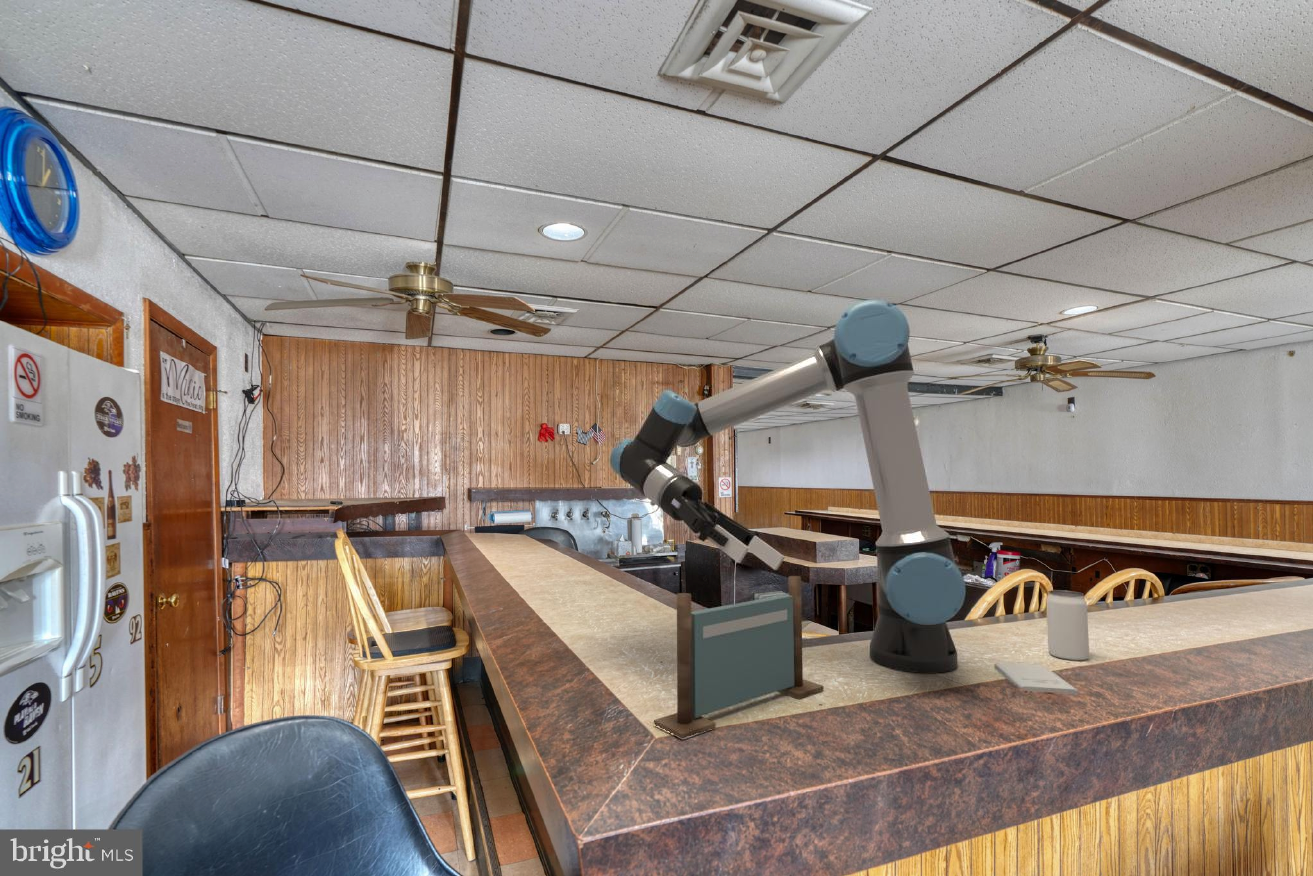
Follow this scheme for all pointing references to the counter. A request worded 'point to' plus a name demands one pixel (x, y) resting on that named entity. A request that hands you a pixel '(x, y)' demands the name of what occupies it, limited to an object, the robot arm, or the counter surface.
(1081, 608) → the can
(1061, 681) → the external hard drive
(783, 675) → the gate door
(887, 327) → the robot arm
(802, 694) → the gate frame
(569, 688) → the counter surface
